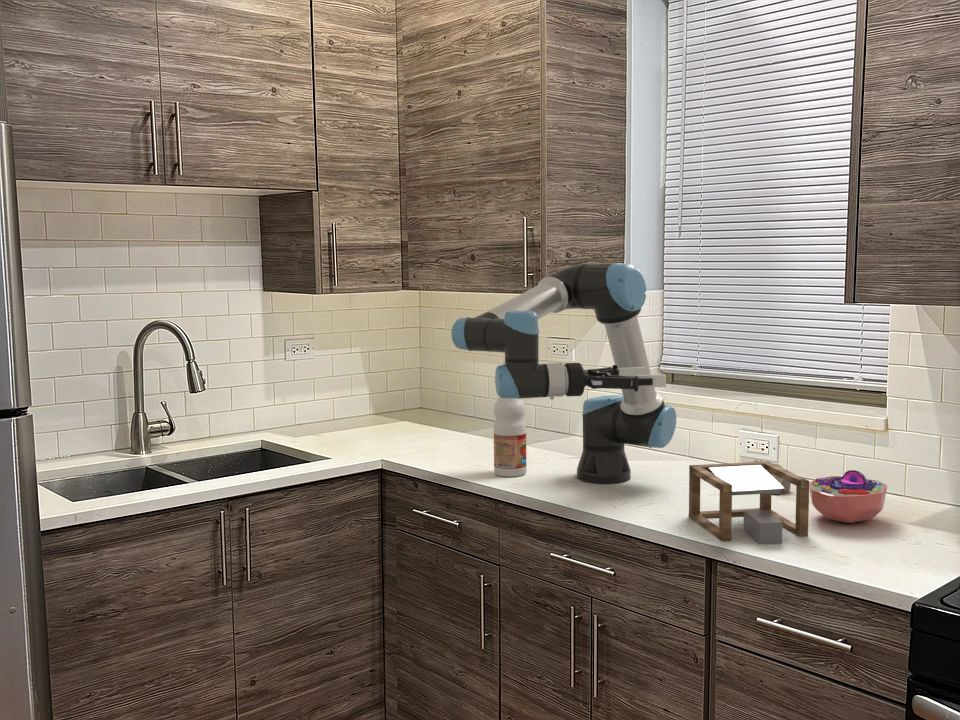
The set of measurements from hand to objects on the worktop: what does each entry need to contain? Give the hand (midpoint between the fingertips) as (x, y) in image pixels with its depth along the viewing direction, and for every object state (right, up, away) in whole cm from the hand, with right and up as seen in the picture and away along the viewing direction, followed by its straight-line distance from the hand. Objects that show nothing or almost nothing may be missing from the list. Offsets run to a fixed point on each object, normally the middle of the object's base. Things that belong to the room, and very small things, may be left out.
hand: (655, 376), depth 212 cm
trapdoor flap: (+21, -24, +3) cm, 32 cm away
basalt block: (+22, -33, -1) cm, 40 cm away
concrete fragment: (+37, -31, +38) cm, 61 cm away
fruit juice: (-31, -29, +58) cm, 72 cm away
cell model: (+46, -34, +7) cm, 58 cm away
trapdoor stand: (+22, -35, +3) cm, 41 cm away
